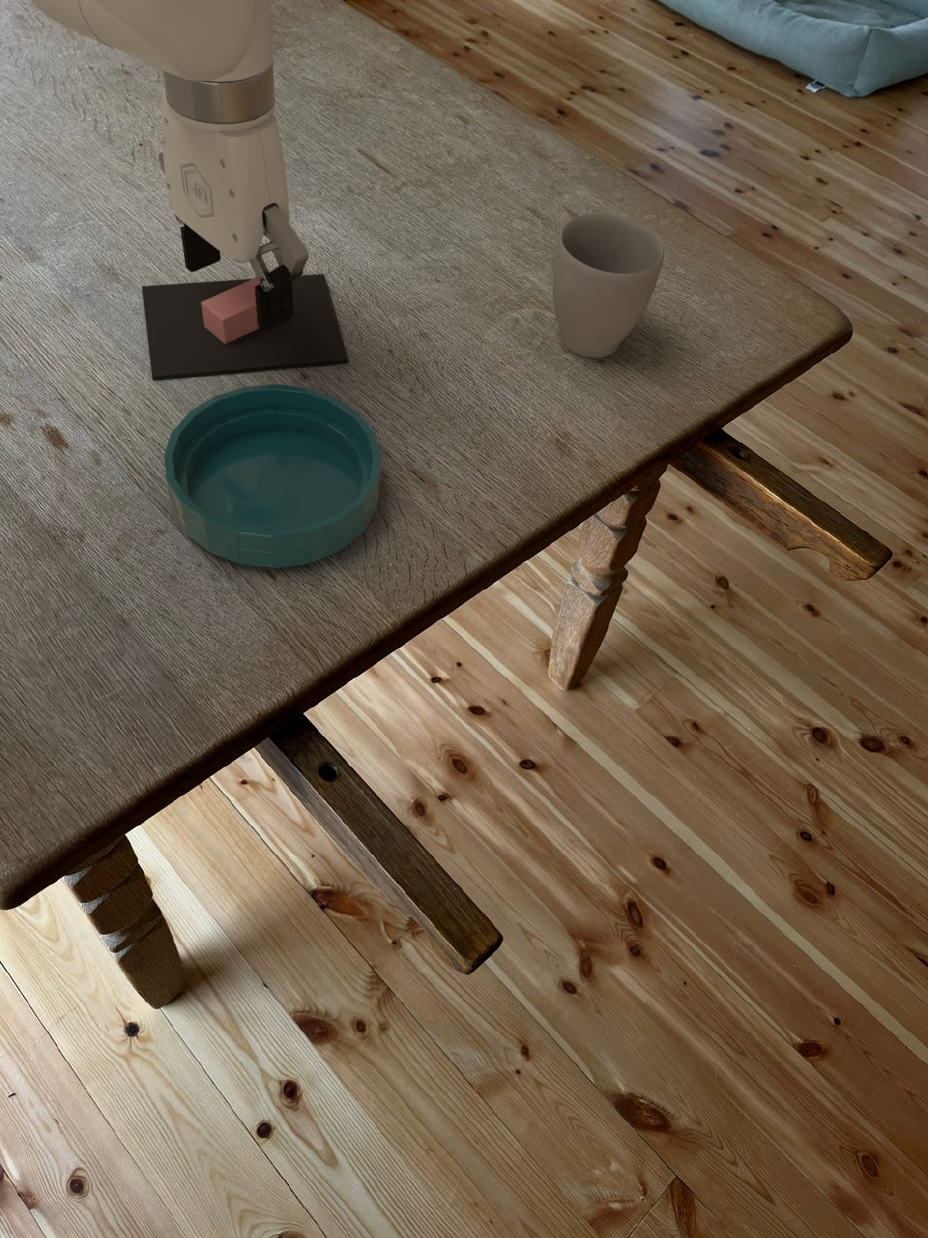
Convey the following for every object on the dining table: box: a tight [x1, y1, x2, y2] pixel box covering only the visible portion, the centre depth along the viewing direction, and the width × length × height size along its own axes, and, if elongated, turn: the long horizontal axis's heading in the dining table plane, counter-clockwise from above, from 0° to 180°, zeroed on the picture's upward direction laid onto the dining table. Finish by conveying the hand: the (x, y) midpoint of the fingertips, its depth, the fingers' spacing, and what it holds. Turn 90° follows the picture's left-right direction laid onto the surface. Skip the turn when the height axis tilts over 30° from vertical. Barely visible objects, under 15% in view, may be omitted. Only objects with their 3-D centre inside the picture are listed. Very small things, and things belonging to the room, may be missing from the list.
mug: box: [552, 212, 665, 359], centre depth 87 cm, size 12×9×10 cm
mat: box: [141, 273, 349, 381], centre depth 86 cm, size 16×12×1 cm
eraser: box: [201, 277, 260, 344], centre depth 85 cm, size 6×3×2 cm, turn 134°
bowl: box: [163, 383, 382, 569], centre depth 74 cm, size 15×15×4 cm
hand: (238, 293), depth 84 cm, fingers open, 9 cm apart
